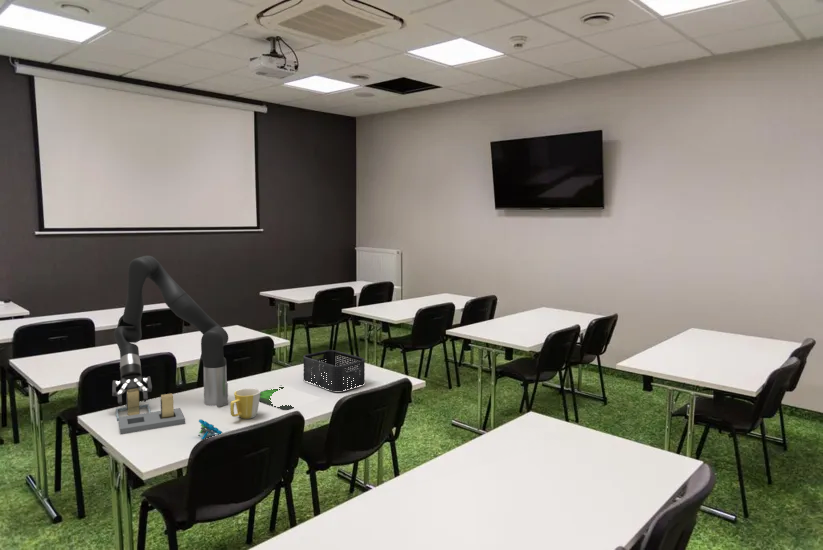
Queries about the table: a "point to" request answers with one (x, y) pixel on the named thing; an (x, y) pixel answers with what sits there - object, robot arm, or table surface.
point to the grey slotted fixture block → (149, 421)
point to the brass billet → (133, 401)
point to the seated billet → (167, 406)
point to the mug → (246, 403)
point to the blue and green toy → (208, 428)
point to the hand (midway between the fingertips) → (133, 402)
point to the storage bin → (334, 370)
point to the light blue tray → (126, 409)
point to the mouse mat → (266, 396)
